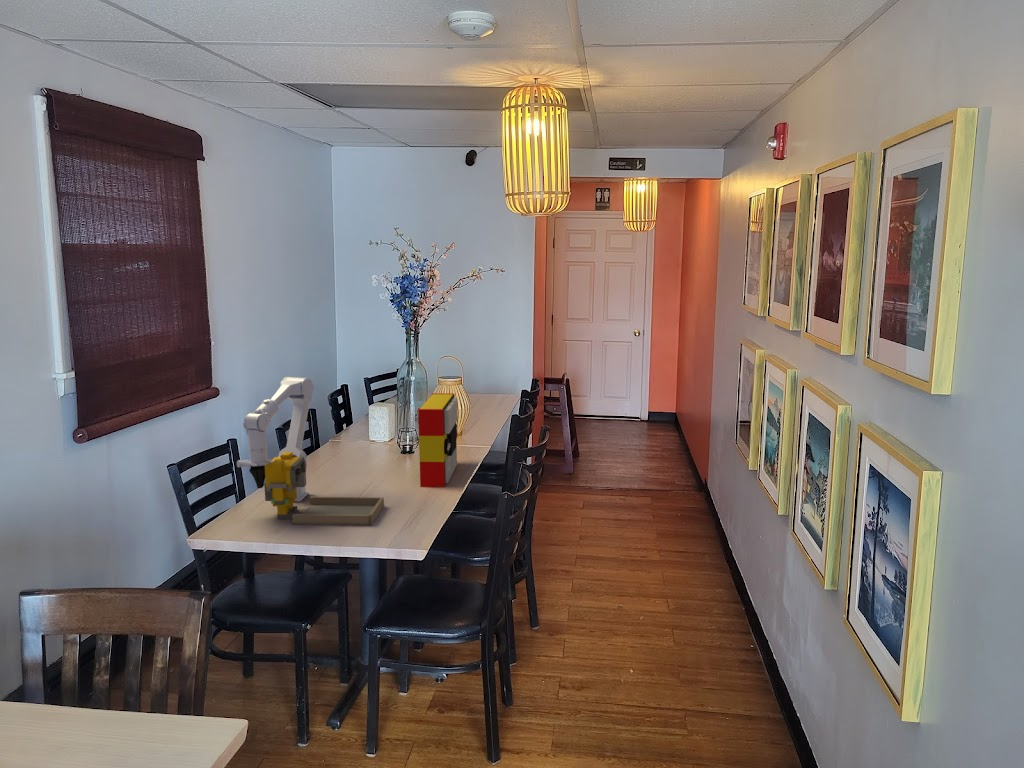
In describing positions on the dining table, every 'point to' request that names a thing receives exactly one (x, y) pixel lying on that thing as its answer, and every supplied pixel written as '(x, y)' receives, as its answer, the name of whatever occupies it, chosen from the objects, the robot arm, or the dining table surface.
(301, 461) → the toy
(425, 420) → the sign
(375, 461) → the dining table surface
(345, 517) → the tray
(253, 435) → the robot arm
